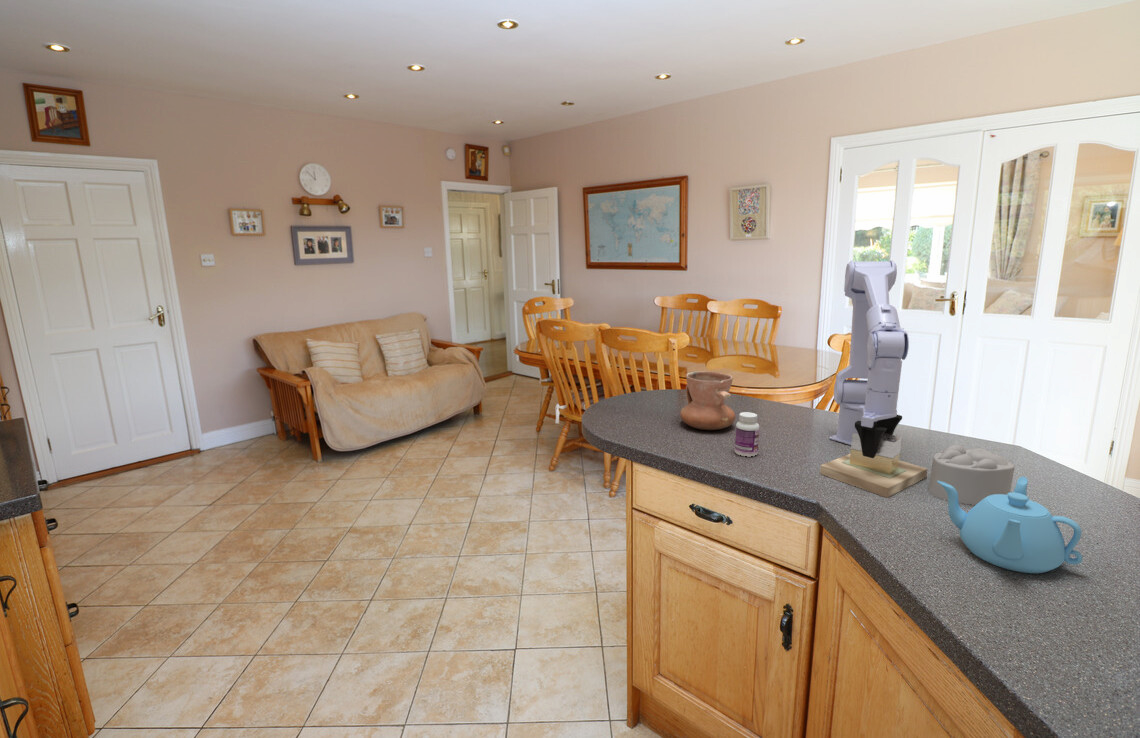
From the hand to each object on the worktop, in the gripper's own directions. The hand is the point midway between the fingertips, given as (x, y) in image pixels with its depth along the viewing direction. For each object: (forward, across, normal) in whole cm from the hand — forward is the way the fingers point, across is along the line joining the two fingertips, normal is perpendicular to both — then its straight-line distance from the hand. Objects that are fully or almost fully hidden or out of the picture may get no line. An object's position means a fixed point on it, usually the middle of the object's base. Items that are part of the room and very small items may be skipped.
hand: (875, 451), depth 115 cm
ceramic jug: (+6, -4, -44) cm, 44 cm away
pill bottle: (+6, +7, -26) cm, 27 cm away
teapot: (+6, +17, +24) cm, 31 cm away
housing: (+3, 0, 0) cm, 3 cm away
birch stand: (+5, 0, 0) cm, 5 cm away
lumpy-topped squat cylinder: (+6, -4, +16) cm, 17 cm away
